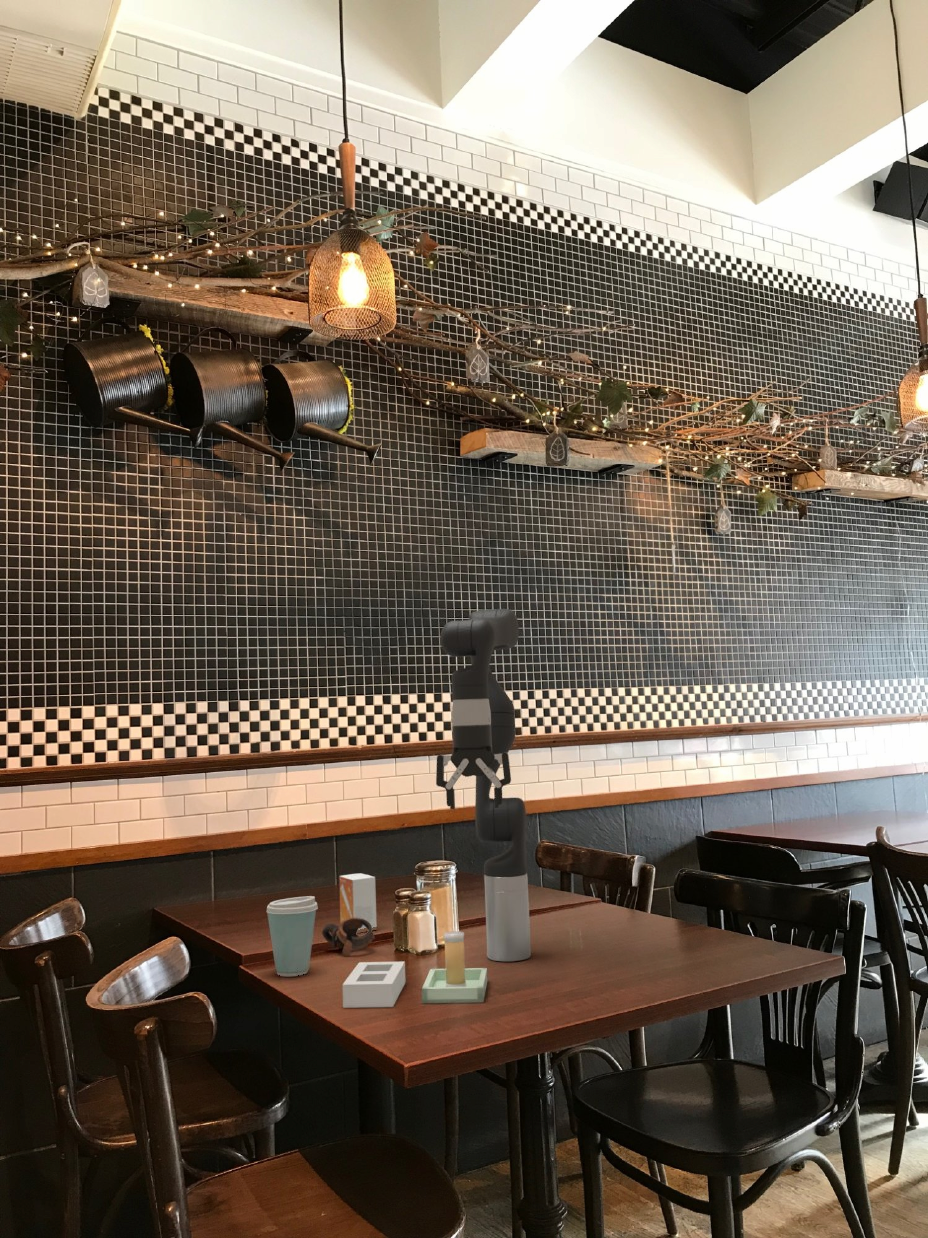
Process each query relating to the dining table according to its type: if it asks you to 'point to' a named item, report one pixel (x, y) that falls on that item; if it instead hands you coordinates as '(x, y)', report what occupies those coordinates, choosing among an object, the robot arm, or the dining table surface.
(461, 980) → the fuse
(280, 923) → the disposable coffee cup
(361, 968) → the frame
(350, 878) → the small box
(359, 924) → the pottery mug
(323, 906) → the dining table surface
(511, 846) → the robot arm
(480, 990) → the parts tray
